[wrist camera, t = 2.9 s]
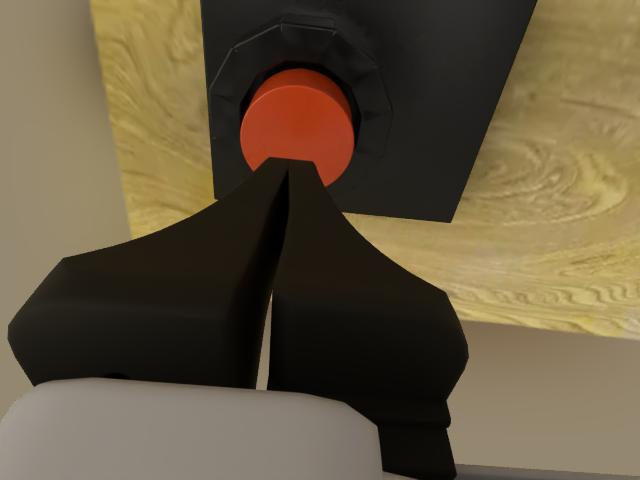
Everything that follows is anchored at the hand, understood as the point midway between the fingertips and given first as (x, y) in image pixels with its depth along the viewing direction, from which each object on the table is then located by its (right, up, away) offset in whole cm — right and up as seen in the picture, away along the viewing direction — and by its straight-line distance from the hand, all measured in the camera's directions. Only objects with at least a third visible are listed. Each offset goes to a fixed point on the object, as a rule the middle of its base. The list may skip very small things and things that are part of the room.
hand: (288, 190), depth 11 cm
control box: (+2, +5, +7) cm, 9 cm away
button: (0, +3, +4) cm, 5 cm away
